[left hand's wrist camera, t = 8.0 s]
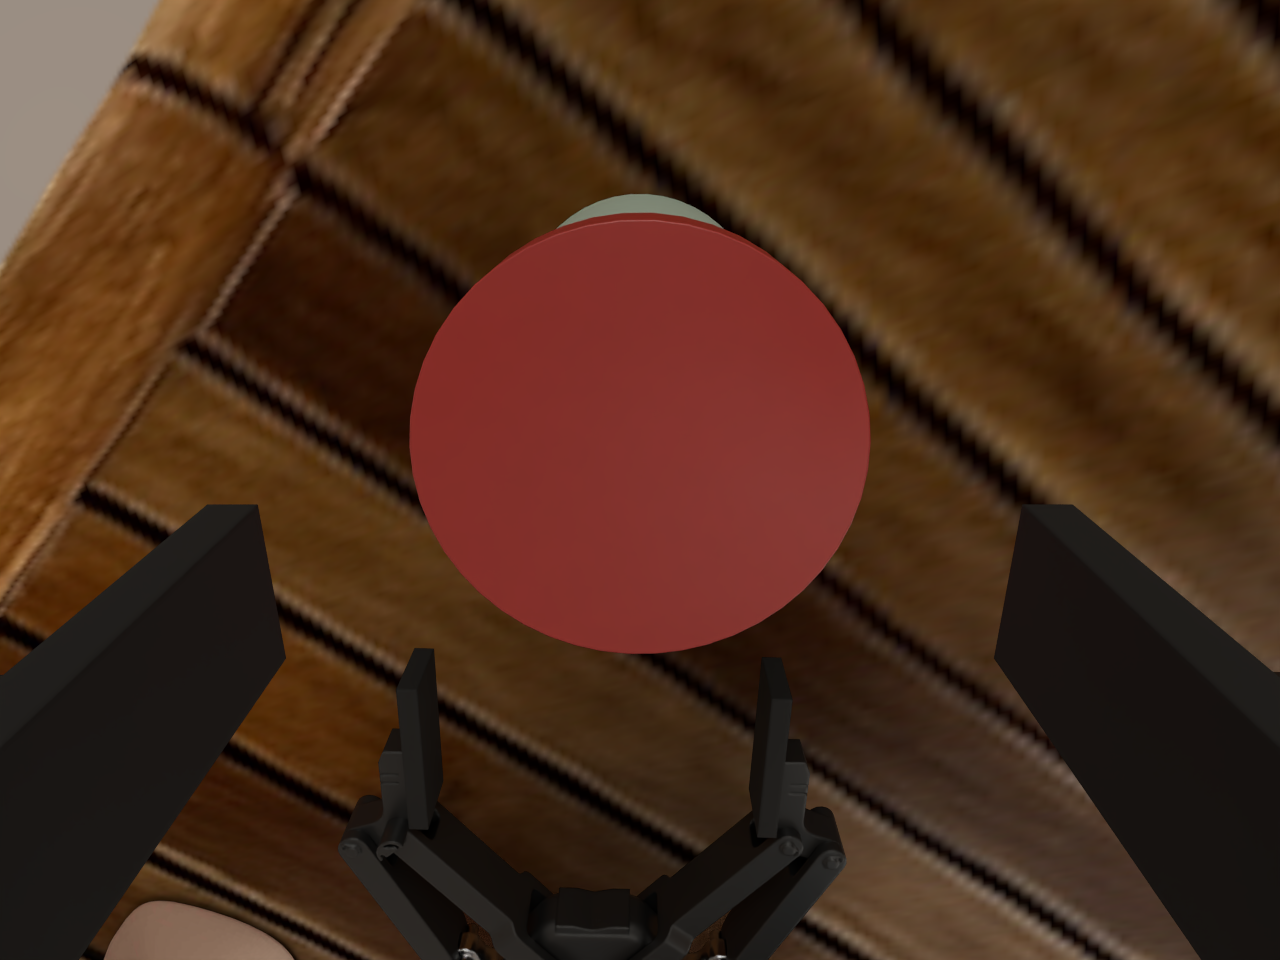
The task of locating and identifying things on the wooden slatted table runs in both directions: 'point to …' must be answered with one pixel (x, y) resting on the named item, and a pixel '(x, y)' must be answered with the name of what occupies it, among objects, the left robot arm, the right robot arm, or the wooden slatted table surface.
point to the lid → (640, 434)
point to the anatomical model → (189, 936)
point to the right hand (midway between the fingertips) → (596, 671)
